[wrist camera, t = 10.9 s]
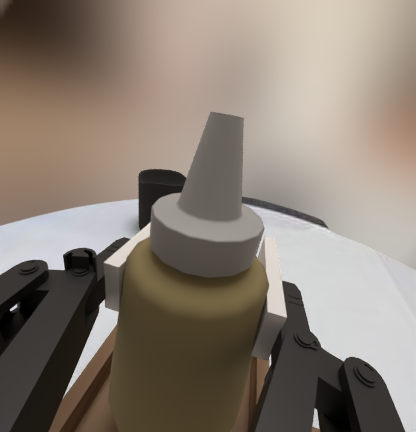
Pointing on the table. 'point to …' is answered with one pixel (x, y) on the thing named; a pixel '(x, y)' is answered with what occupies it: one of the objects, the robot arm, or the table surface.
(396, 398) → the table surface
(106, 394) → the wooden tray with handle
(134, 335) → the squeeze bottle
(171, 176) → the pen holder
